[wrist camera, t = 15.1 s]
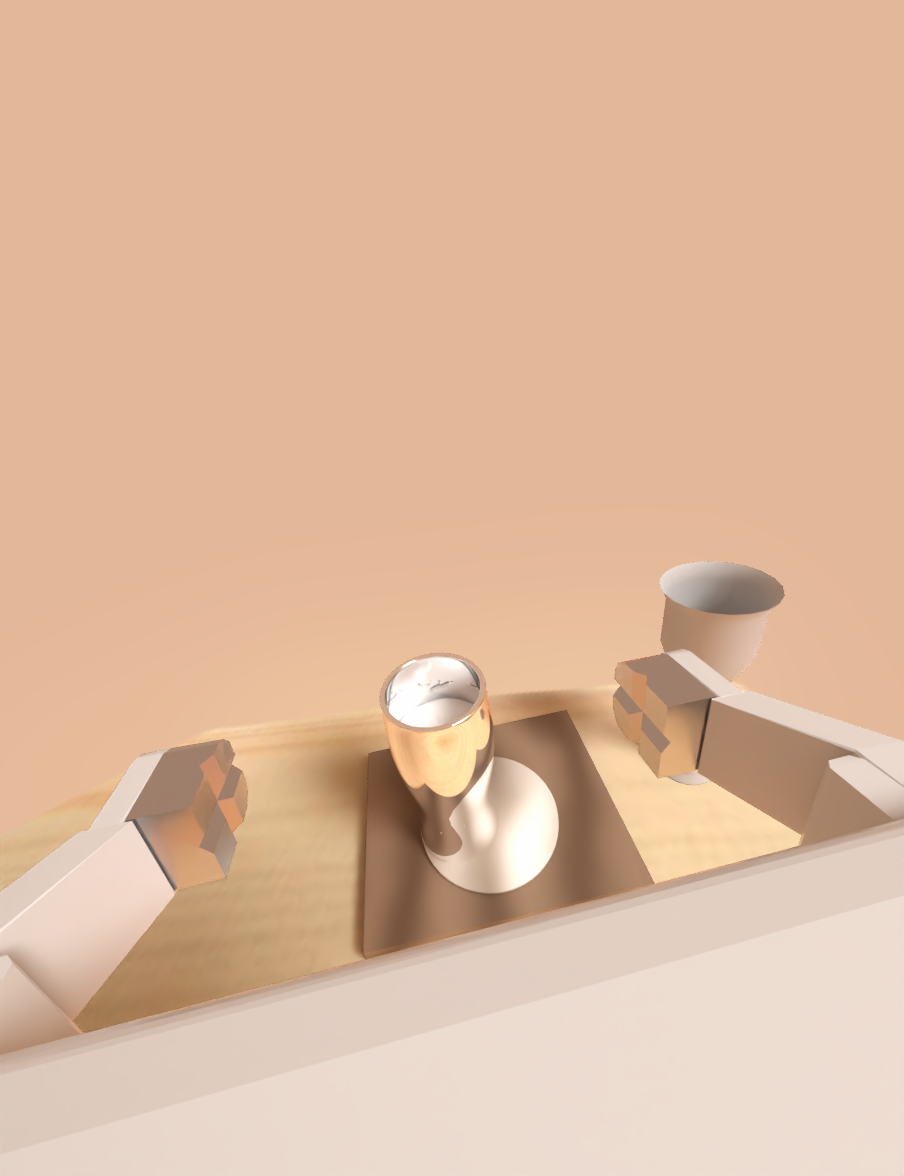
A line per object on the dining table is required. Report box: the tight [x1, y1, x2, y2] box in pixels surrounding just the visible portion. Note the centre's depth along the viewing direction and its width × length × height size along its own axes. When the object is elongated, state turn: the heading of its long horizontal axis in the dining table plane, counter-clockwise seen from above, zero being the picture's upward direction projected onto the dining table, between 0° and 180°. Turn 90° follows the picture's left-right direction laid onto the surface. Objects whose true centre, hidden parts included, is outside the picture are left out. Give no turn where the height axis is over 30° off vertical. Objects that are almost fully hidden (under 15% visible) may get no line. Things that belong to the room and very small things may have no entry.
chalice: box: [660, 561, 785, 785], centre depth 34 cm, size 7×7×18 cm
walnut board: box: [363, 710, 654, 959], centre depth 36 cm, size 20×16×2 cm
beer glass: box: [380, 653, 497, 863], centre depth 30 cm, size 7×7×15 cm
